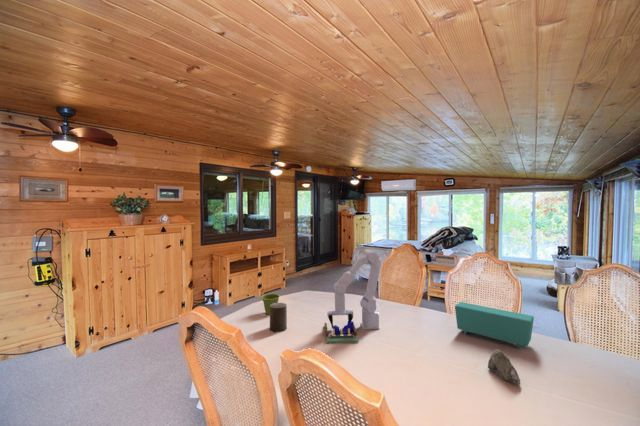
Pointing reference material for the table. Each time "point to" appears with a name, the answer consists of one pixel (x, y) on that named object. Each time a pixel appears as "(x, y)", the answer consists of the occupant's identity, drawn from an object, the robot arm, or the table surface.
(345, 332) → the cable clip
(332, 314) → the robot arm
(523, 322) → the radio
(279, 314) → the pillar candle
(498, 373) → the mineral rock
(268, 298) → the plant pot
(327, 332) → the guide rails
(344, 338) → the header board
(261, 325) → the table surface
